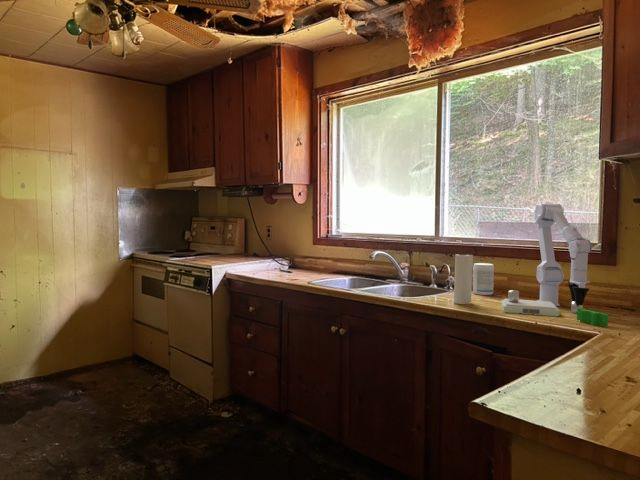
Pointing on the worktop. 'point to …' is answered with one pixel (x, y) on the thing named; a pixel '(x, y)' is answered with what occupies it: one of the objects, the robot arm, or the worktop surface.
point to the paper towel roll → (463, 278)
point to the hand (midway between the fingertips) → (577, 303)
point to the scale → (530, 307)
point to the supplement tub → (483, 278)
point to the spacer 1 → (513, 296)
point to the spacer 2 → (575, 307)
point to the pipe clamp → (592, 317)
